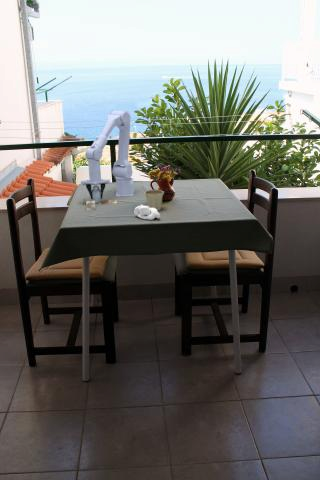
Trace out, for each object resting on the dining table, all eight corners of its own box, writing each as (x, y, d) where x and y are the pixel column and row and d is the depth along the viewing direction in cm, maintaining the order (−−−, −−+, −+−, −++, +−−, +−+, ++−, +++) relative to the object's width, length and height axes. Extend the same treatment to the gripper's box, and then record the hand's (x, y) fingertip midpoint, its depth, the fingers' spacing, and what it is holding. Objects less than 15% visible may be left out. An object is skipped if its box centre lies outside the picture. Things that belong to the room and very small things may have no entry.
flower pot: (154, 205, 247) (154, 188, 244) (168, 209, 241) (168, 191, 238) (140, 209, 241) (140, 192, 238) (154, 213, 235) (153, 195, 232)
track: (116, 200, 256) (116, 197, 256) (116, 204, 251) (116, 200, 250) (83, 202, 255) (83, 198, 254) (83, 205, 249) (83, 201, 249)
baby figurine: (162, 220, 226) (154, 208, 220) (139, 229, 229) (130, 217, 223) (161, 207, 232) (153, 195, 226) (138, 216, 235) (130, 204, 229)
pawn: (101, 200, 255) (100, 184, 252) (101, 202, 251) (100, 186, 248) (92, 200, 254) (91, 184, 251) (92, 203, 250) (91, 186, 247)
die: (95, 208, 245) (94, 200, 244) (95, 210, 241) (94, 202, 240) (87, 208, 245) (86, 201, 243) (86, 211, 241) (86, 203, 240)
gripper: (79, 174, 243) (81, 201, 247) (109, 173, 244) (111, 199, 249) (80, 171, 249) (82, 197, 254) (109, 170, 251) (110, 196, 255)
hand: (96, 198), depth 252 cm, fingers closed on pawn, 4 cm apart
